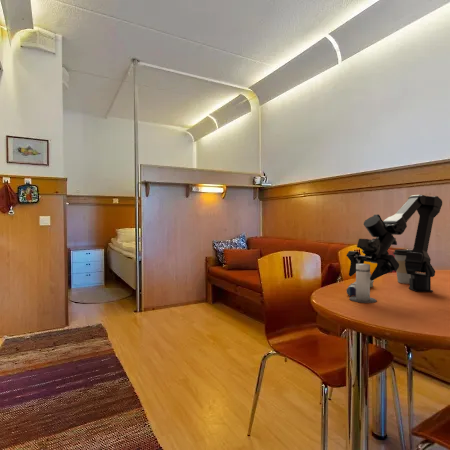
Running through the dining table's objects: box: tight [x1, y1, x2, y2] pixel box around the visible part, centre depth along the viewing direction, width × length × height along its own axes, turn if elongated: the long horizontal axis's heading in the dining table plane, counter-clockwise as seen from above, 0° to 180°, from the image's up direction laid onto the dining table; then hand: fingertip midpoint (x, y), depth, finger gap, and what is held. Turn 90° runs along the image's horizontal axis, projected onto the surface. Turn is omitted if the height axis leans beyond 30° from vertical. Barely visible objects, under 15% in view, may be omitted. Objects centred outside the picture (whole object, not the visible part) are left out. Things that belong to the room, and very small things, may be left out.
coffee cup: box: [392, 249, 413, 284], centre depth 143 cm, size 9×9×15 cm
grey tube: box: [346, 273, 375, 297], centre depth 127 cm, size 5×7×25 cm
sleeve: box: [355, 263, 371, 301], centre depth 111 cm, size 5×5×12 cm
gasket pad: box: [348, 296, 378, 304], centre depth 111 cm, size 9×9×1 cm
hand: (359, 277), depth 111 cm, fingers open, 9 cm apart
